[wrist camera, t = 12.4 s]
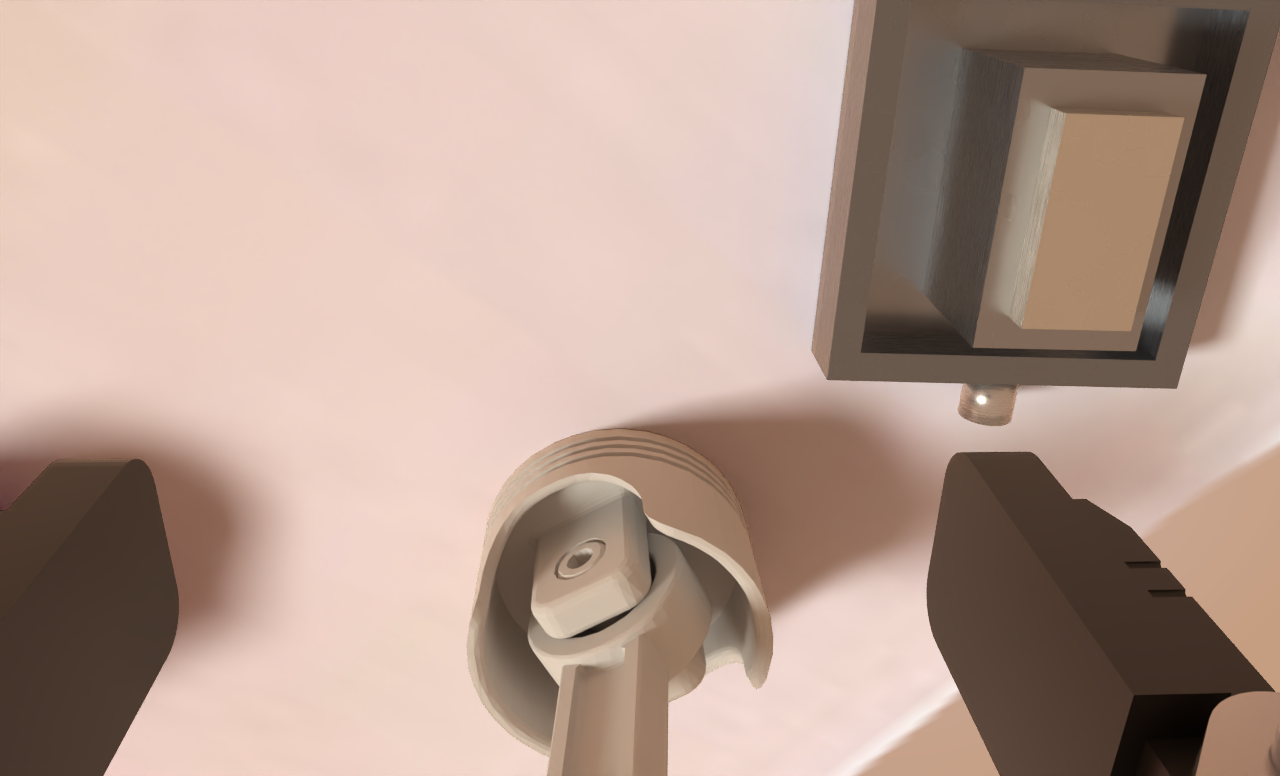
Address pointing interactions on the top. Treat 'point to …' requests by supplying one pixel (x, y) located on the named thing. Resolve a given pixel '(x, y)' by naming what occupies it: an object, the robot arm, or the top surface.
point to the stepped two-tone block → (1057, 196)
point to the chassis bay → (913, 163)
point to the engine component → (611, 599)
